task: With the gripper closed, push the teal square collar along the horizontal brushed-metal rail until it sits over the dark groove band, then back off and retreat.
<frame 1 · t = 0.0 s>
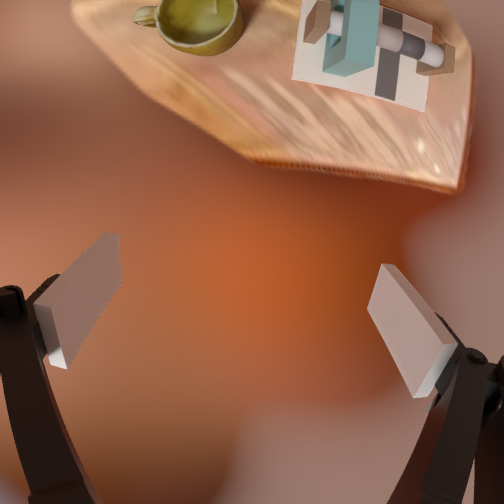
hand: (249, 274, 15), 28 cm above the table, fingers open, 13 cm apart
pipe rail: (367, 47, 34), on the table
collar: (349, 26, 28), point 7 cm above the table, slide at 0.0 cm
mug: (195, 27, 33), on the table
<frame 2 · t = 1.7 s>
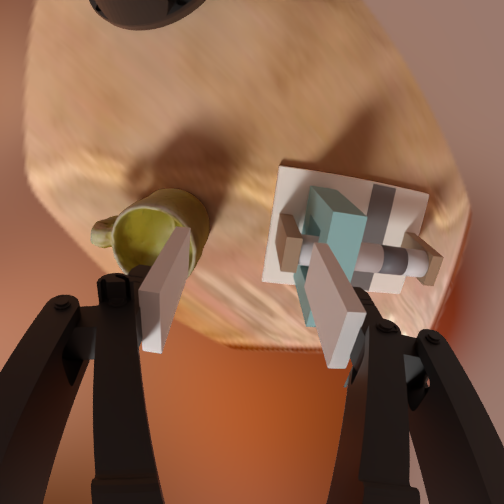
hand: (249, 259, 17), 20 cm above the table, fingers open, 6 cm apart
pipe rail: (347, 234, 38), on the table
collar: (323, 252, 32), point 6 cm above the table, slide at 0.0 cm
mug: (159, 220, 37), on the table
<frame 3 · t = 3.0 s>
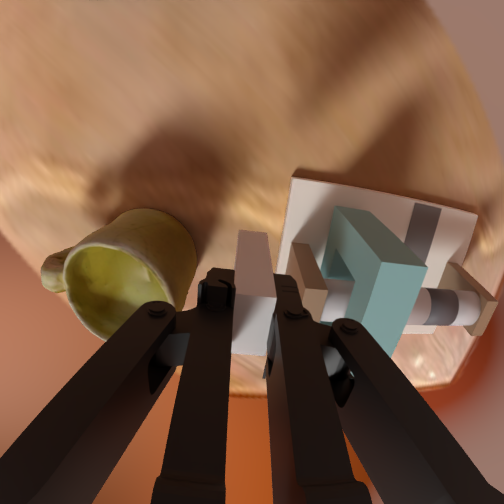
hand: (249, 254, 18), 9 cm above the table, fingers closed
pipe rail: (377, 267, 28), on the table
collar: (353, 302, 22), point 6 cm above the table, slide at 0.0 cm
mug: (131, 248, 28), on the table
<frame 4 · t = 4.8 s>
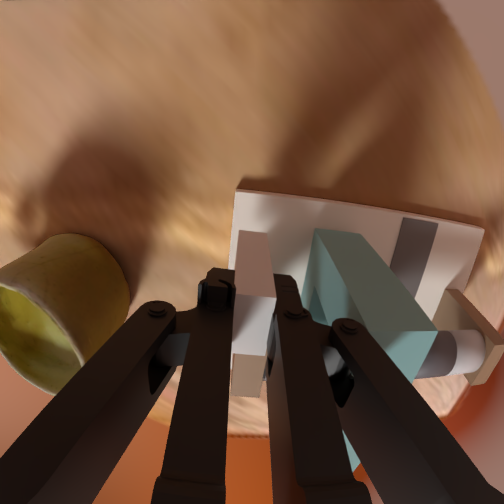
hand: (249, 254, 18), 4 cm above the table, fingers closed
pipe rail: (356, 298, 23), on the table
collar: (336, 356, 17), point 7 cm above the table, slide at 1.4 cm, touching hand
mug: (64, 277, 22), on the table
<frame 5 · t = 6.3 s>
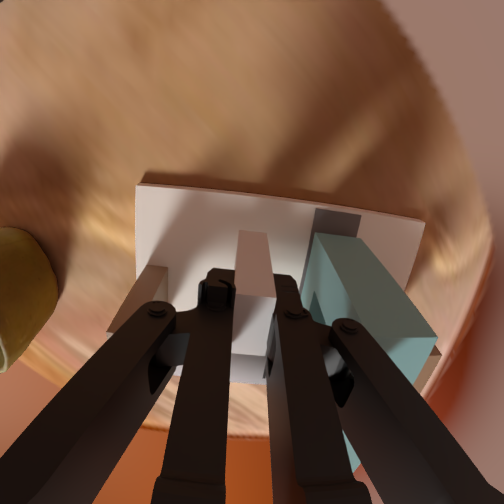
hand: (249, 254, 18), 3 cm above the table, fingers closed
pipe rail: (273, 295, 23), on the table
collar: (335, 360, 17), point 6 cm above the table, slide at 7.6 cm, touching hand
mug: (9, 268, 22), on the table
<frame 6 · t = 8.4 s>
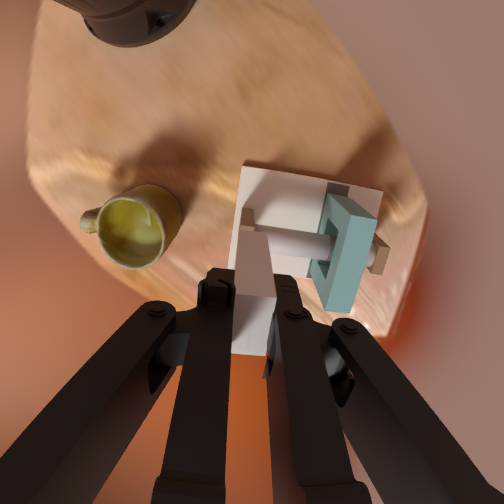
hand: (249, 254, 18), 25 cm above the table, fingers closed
pipe rail: (305, 228, 43), on the table
collar: (339, 249, 37), point 7 cm above the table, slide at 7.6 cm
mug: (139, 212, 42), on the table
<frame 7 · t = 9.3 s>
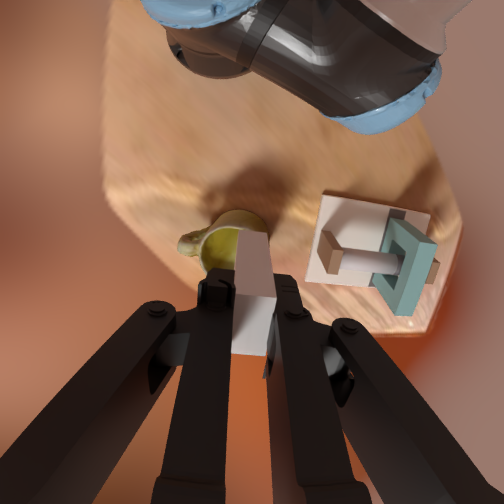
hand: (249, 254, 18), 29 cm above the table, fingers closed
pipe rail: (369, 245, 49), on the table
collar: (401, 265, 43), point 6 cm above the table, slide at 7.6 cm
mug: (226, 233, 49), on the table
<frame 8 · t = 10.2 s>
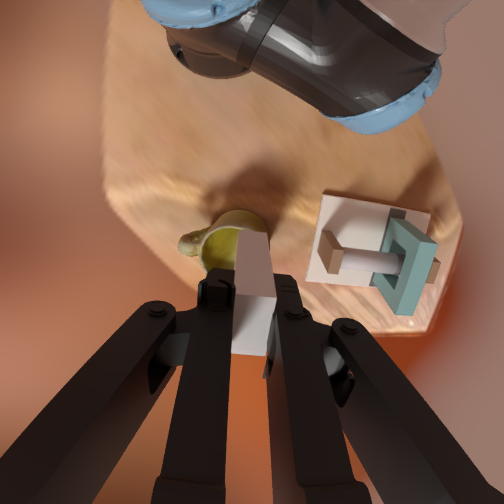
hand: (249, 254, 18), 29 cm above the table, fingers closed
pipe rail: (369, 245, 49), on the table
collar: (402, 264, 43), point 7 cm above the table, slide at 7.6 cm
mug: (227, 233, 49), on the table
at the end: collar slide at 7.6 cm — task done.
